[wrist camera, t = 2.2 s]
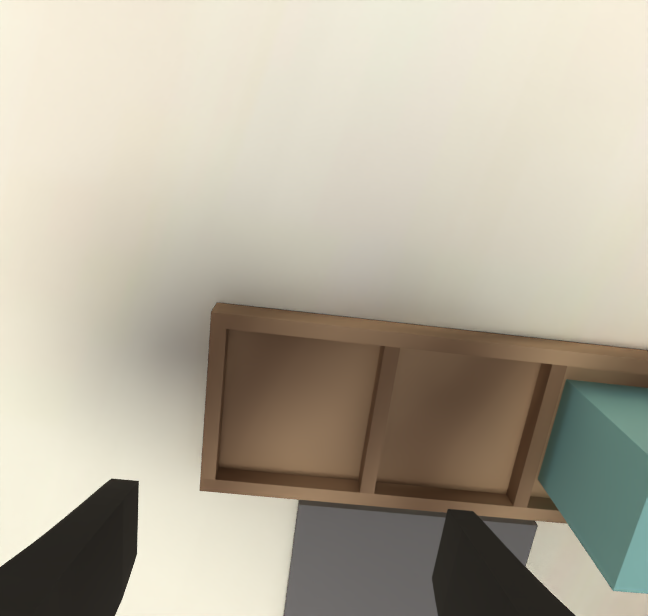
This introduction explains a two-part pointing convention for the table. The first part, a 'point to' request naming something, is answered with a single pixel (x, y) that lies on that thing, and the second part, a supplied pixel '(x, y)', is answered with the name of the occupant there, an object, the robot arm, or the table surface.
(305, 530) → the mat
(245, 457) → the organizer
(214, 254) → the table surface
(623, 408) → the teal block
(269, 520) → the table surface
